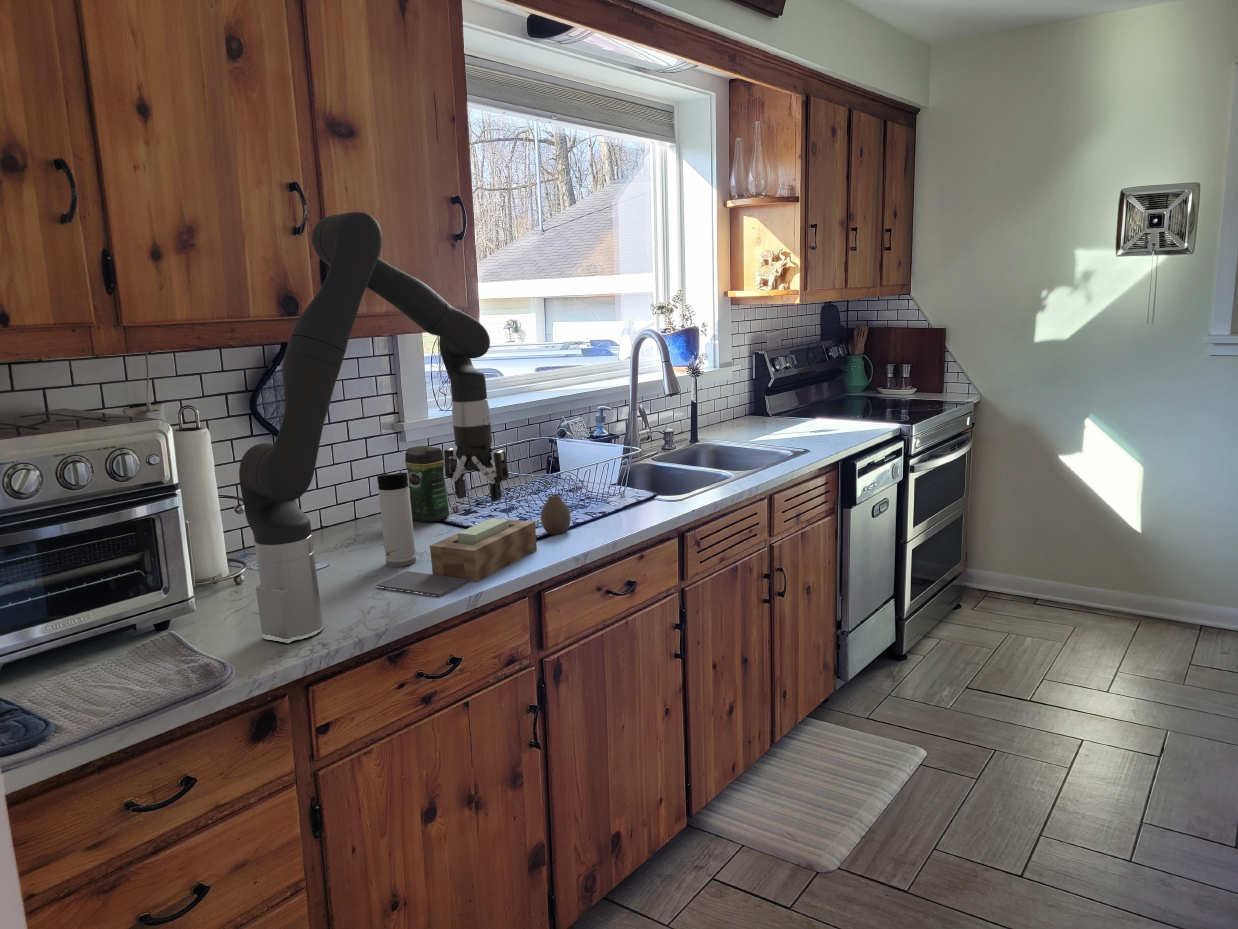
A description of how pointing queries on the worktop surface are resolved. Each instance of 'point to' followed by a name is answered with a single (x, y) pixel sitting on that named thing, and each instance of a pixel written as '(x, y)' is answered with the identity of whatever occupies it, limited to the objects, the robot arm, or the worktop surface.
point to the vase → (555, 515)
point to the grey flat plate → (423, 583)
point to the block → (482, 531)
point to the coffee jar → (426, 483)
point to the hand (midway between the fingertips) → (478, 499)
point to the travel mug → (396, 519)
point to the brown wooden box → (483, 552)
